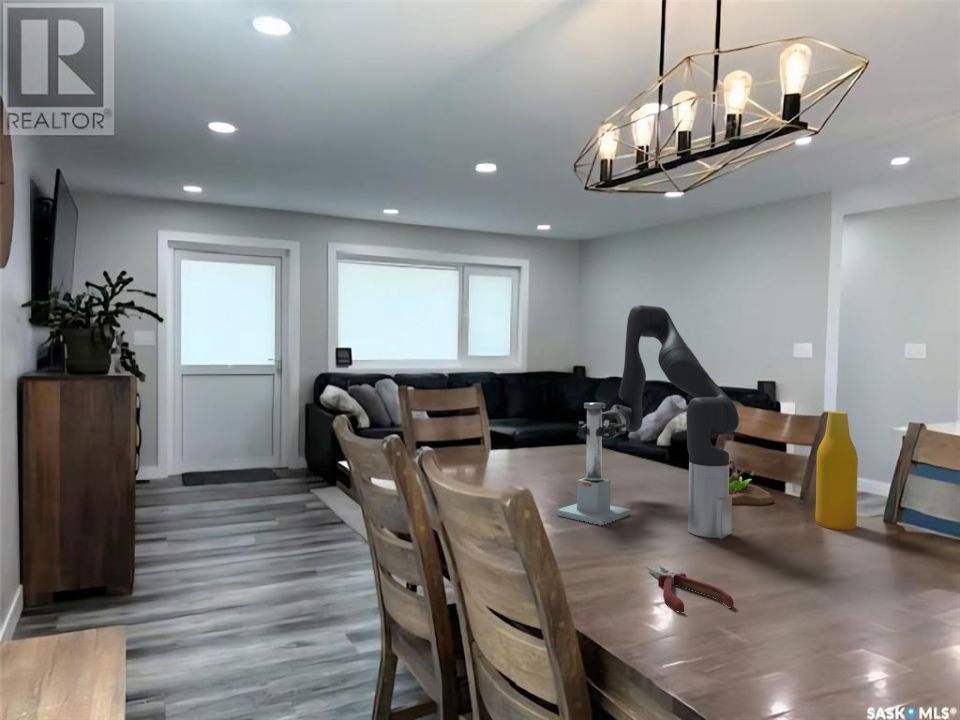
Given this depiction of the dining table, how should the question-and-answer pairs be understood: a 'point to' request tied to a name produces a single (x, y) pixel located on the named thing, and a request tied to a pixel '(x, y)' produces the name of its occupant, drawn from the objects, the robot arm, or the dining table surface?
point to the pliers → (669, 578)
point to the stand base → (593, 504)
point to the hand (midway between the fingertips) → (591, 431)
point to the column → (594, 441)
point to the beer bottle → (836, 476)
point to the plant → (746, 490)
